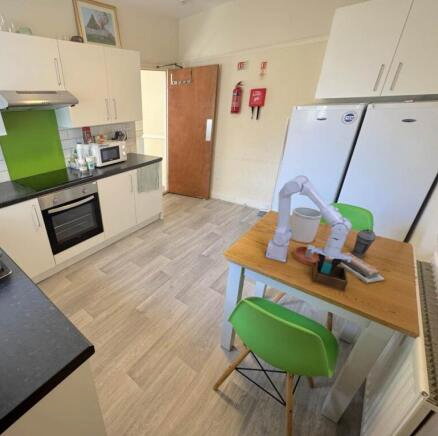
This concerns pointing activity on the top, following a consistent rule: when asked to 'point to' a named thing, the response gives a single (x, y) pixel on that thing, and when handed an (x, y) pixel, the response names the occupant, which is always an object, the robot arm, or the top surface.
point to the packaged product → (361, 269)
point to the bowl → (300, 256)
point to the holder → (331, 277)
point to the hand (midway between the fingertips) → (324, 268)
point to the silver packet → (309, 251)
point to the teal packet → (326, 266)
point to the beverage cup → (363, 242)
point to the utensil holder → (305, 223)
